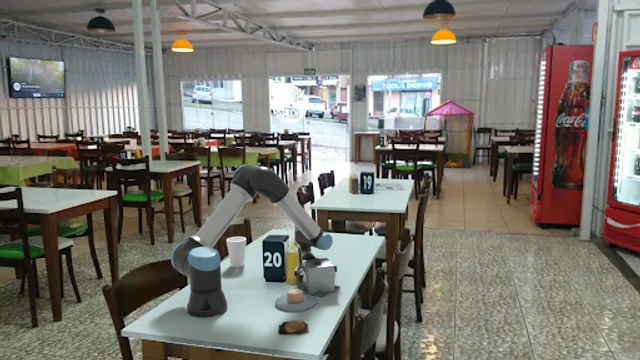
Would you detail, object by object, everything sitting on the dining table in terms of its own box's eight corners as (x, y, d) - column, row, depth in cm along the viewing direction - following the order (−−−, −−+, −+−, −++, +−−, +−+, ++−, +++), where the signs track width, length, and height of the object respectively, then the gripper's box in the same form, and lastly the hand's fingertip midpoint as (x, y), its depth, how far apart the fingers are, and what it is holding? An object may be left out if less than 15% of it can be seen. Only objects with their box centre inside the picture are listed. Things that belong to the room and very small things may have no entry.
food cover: (334, 291, 210) (334, 261, 208) (308, 294, 207) (308, 264, 205) (327, 282, 220) (327, 254, 218) (302, 285, 217) (302, 256, 216)
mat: (322, 297, 205) (322, 296, 205) (296, 290, 212) (296, 290, 212) (339, 287, 215) (339, 286, 215) (315, 281, 223) (315, 280, 223)
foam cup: (249, 262, 252) (248, 236, 250) (244, 268, 242) (243, 242, 240) (230, 262, 253) (229, 236, 250) (225, 268, 243) (224, 241, 241)
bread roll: (308, 325, 181) (308, 315, 181) (309, 335, 173) (309, 325, 173) (278, 326, 181) (278, 316, 180) (278, 337, 172) (277, 326, 172)
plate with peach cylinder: (299, 315, 188) (298, 303, 188) (266, 305, 198) (266, 294, 197) (323, 300, 201) (323, 289, 201) (292, 292, 210) (291, 281, 210)
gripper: (333, 266, 233) (348, 282, 213) (282, 272, 227) (292, 289, 207) (333, 250, 232) (347, 265, 211) (282, 256, 226) (291, 271, 205)
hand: (320, 277), depth 209 cm, fingers open, 11 cm apart
